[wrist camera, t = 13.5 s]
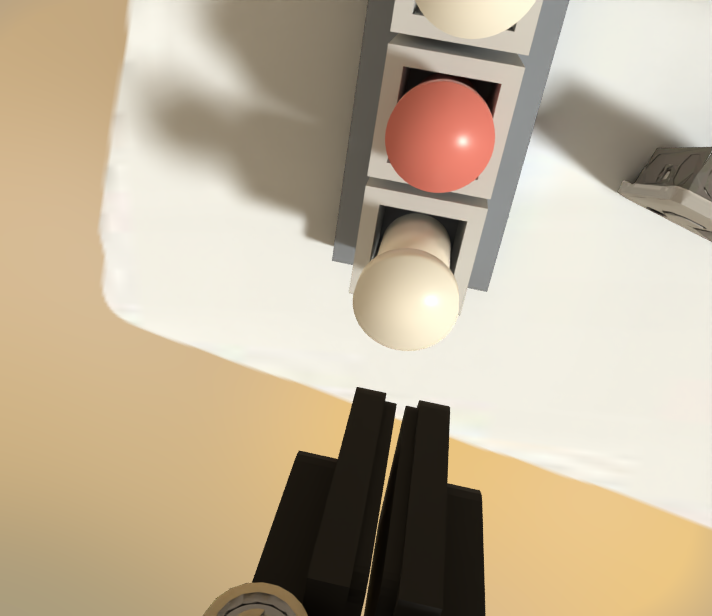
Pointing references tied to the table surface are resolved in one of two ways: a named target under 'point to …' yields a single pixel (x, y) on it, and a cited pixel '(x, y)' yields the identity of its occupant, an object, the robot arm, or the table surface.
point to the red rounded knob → (440, 134)
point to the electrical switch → (677, 188)
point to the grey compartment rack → (509, 112)
